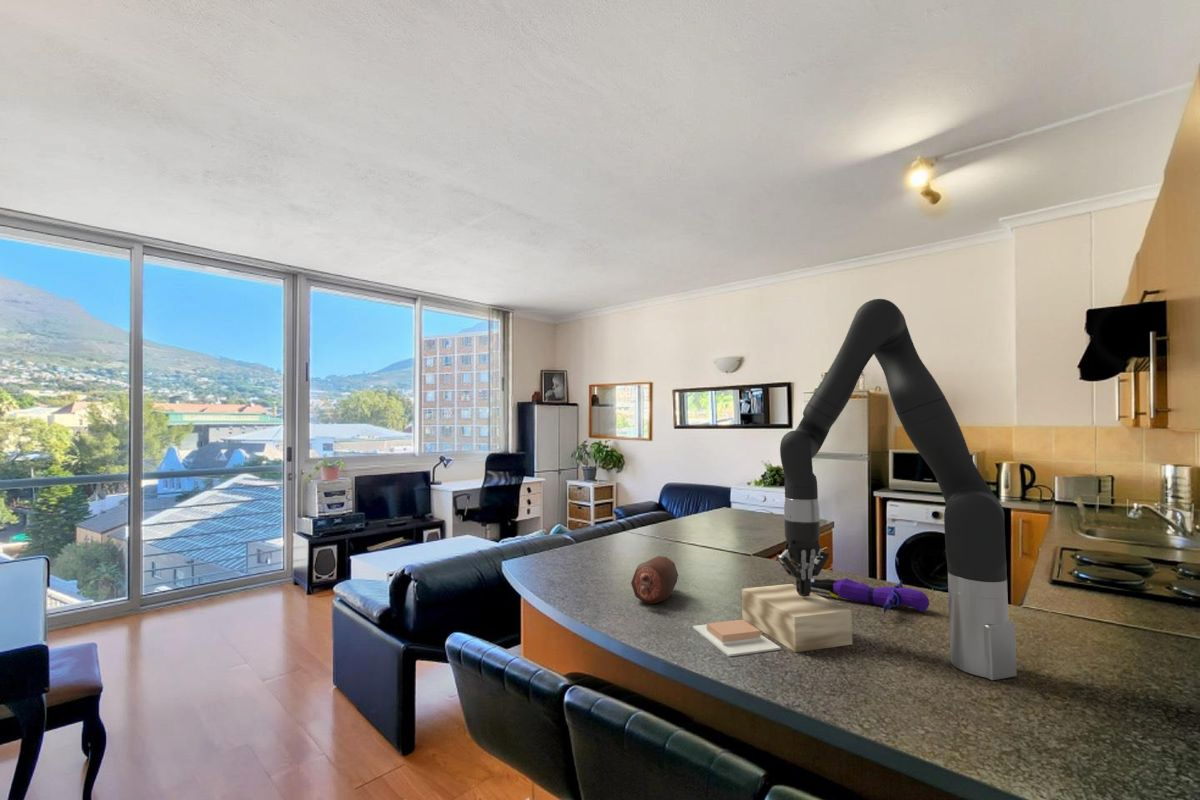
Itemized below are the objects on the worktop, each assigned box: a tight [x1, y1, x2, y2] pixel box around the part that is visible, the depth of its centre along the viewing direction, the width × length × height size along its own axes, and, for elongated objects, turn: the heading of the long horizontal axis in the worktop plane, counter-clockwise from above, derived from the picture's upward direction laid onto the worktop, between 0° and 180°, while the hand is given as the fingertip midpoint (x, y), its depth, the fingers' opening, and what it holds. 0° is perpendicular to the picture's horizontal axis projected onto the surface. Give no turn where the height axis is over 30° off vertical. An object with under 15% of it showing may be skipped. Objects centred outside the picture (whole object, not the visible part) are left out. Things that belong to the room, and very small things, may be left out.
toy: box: [811, 578, 930, 614], centre depth 139 cm, size 27×6×30 cm
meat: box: [630, 555, 679, 605], centre depth 142 cm, size 20×12×10 cm, turn 156°
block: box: [741, 583, 853, 653], centre depth 119 cm, size 20×14×7 cm
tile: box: [706, 619, 762, 645], centre depth 115 cm, size 7×9×2 cm
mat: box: [692, 623, 782, 657], centre depth 115 cm, size 16×12×1 cm
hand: (803, 595), depth 120 cm, fingers closed
